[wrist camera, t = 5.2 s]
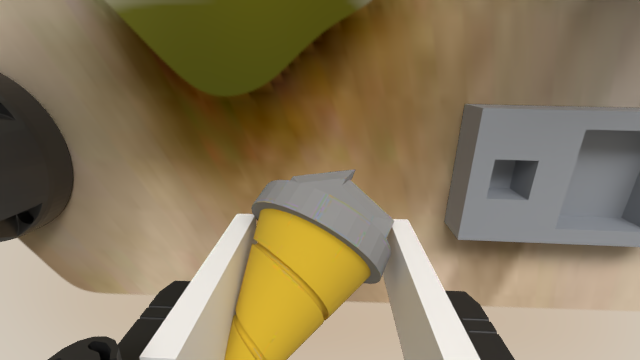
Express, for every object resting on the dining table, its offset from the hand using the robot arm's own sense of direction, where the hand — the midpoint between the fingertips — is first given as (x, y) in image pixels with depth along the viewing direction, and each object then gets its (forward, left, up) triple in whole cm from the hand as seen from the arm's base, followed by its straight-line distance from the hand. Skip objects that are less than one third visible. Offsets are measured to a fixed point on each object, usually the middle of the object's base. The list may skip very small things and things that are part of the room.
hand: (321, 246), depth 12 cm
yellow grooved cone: (0, 0, -2) cm, 2 cm away
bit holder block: (+19, 0, -13) cm, 23 cm away
